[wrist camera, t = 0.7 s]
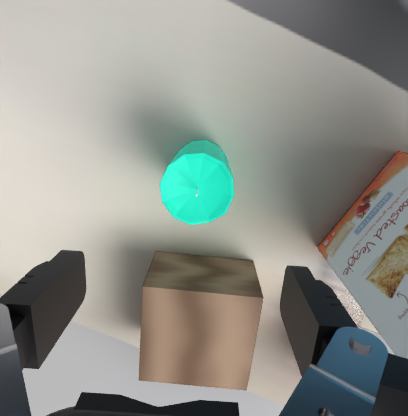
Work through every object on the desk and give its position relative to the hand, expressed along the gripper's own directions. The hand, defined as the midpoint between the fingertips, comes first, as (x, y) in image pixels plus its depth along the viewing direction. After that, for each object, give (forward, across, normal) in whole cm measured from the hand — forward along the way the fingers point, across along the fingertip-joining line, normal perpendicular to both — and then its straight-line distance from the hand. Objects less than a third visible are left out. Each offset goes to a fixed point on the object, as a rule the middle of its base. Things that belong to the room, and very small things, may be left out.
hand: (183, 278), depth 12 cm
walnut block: (+24, -1, +17) cm, 29 cm away
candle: (+24, 0, 0) cm, 24 cm away
